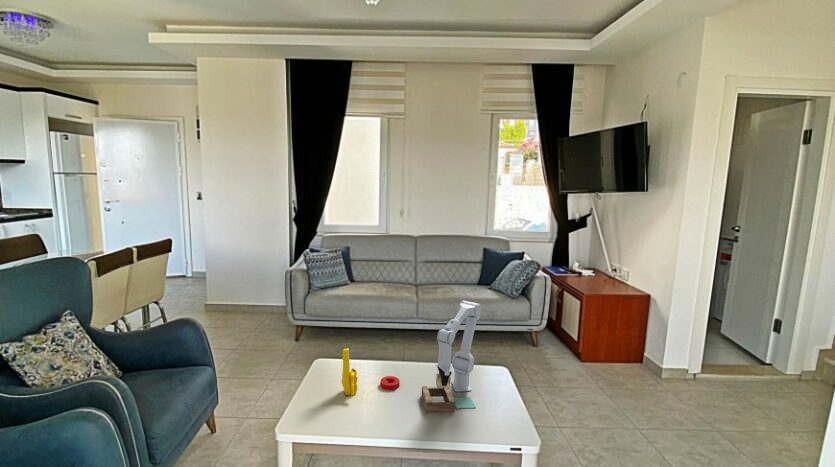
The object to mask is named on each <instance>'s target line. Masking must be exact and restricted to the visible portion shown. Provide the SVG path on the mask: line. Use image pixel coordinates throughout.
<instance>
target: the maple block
mask: <svg viewBox="0 0 835 467" xmlns="http://www.w3.org/2000/svg"><path fill="white" fill-rule="evenodd" d="M435 375H436V378H435V380H436V381H435V384H436V387H437V388H450V389H451V384H452V380H451V379H452V377H451V376H450V377H449V379H448V383H447V386H442V383H441V375H440V374H439V373H436V374H435Z"/></svg>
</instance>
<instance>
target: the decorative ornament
mask: <svg viewBox="0 0 835 467" xmlns="http://www.w3.org/2000/svg"><path fill="white" fill-rule="evenodd" d="M379 382H380V388H381V389H383V390H385V391H396V390H397V389H399V388H400V385H401V384H400V382H401V381H400V378H399V377H397V376H394V375H386V376H384V377H382V378H381V379H380V381H379Z"/></svg>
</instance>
